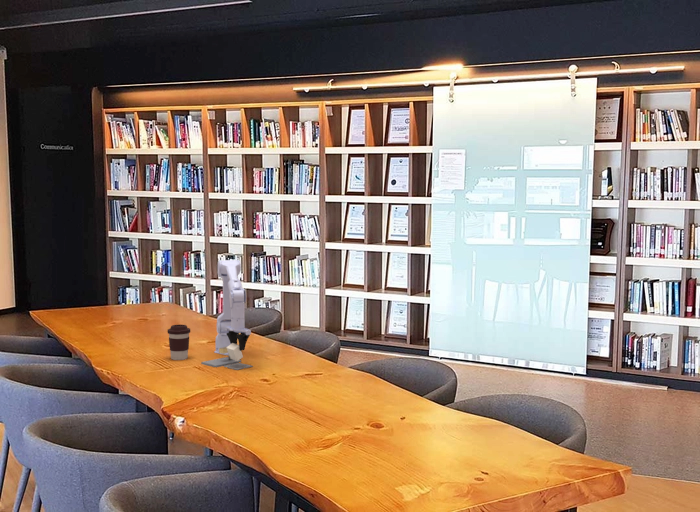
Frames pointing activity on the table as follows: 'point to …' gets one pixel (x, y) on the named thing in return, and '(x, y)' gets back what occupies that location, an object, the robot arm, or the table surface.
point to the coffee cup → (179, 341)
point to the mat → (238, 366)
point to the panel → (220, 362)
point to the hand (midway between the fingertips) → (238, 349)
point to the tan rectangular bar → (223, 350)
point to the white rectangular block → (234, 352)
